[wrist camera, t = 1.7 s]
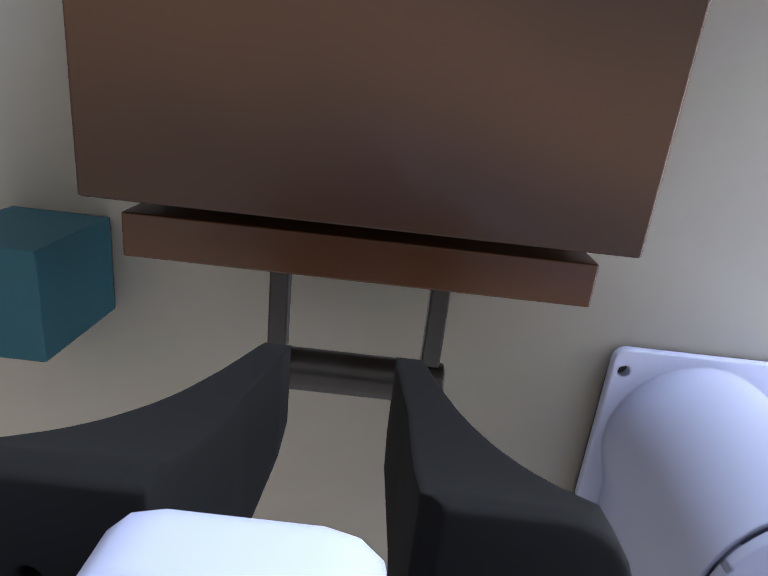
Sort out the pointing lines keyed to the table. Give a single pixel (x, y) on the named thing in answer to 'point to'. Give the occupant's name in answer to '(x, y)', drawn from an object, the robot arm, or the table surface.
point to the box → (51, 279)
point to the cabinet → (388, 111)
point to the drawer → (357, 276)
